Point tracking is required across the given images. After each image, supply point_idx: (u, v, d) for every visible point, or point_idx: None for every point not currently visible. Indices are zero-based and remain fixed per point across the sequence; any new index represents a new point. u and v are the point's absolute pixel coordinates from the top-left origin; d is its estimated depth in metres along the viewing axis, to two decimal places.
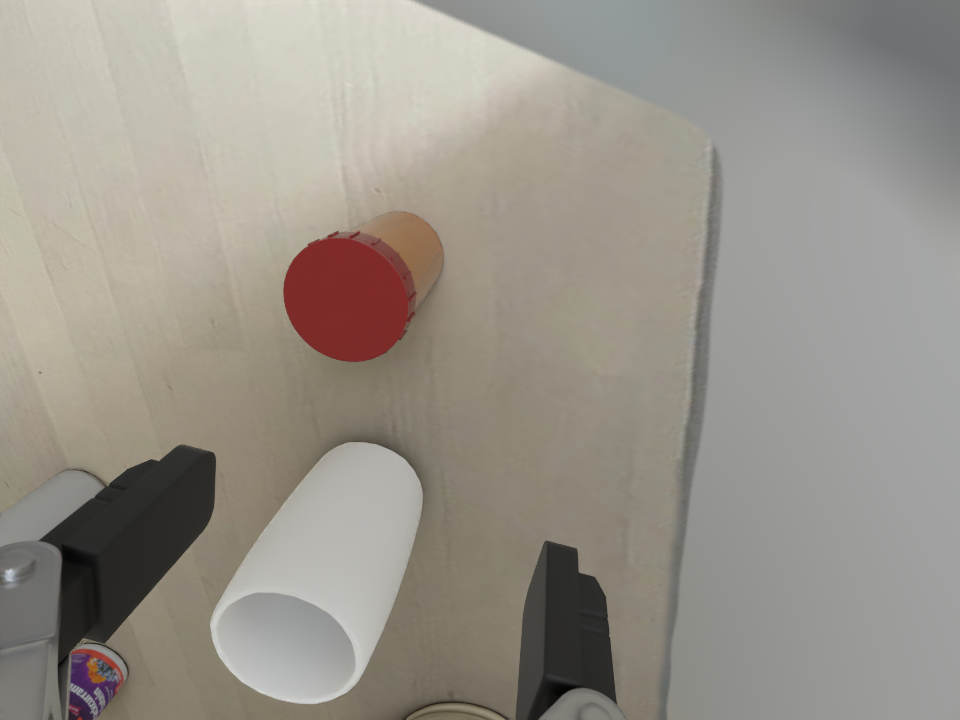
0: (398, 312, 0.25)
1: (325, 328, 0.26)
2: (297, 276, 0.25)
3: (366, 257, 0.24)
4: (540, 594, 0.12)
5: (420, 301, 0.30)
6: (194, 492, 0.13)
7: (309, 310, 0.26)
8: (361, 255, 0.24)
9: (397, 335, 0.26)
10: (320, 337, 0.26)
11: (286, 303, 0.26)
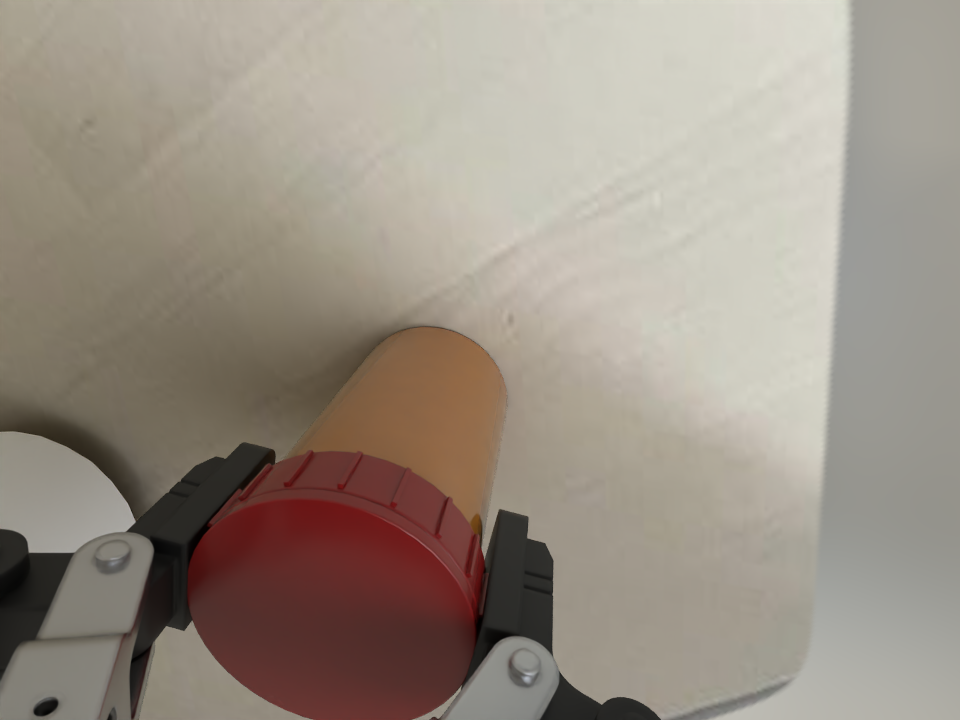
0: (381, 712, 0.12)
1: (245, 605, 0.11)
2: (310, 522, 0.10)
3: (449, 634, 0.11)
4: (490, 557, 0.12)
5: None
6: None
7: (256, 566, 0.11)
8: (446, 625, 0.10)
9: None
10: (219, 602, 0.11)
11: (233, 517, 0.10)
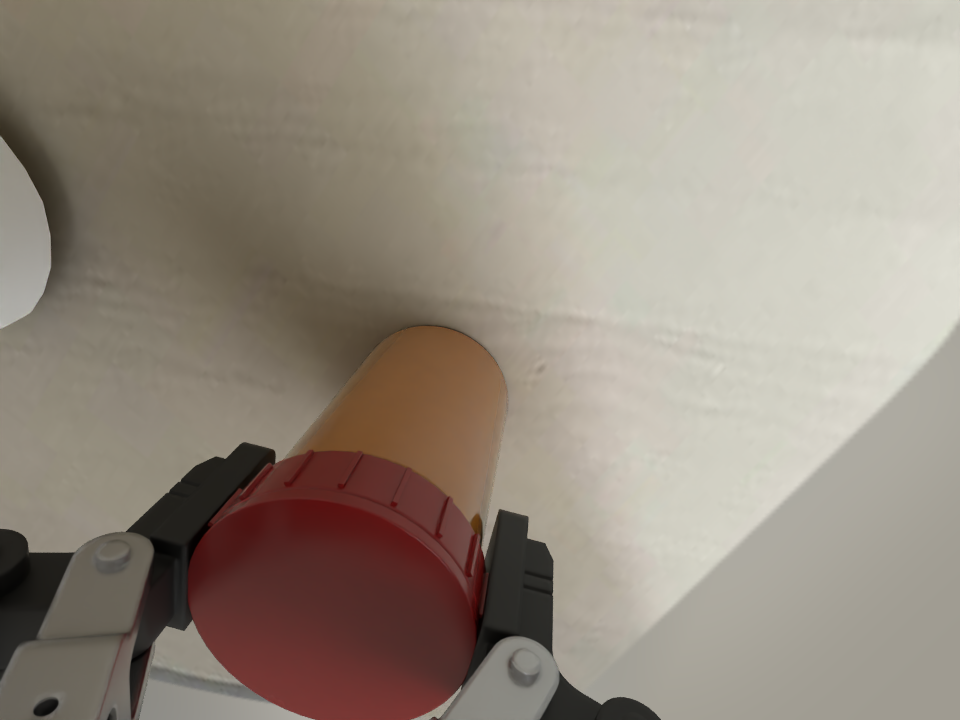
0: (381, 711, 0.12)
1: (246, 605, 0.11)
2: (310, 522, 0.10)
3: (449, 634, 0.11)
4: (490, 557, 0.12)
5: None
6: None
7: (257, 565, 0.11)
8: (447, 625, 0.10)
9: None
10: (219, 601, 0.11)
11: (233, 516, 0.10)
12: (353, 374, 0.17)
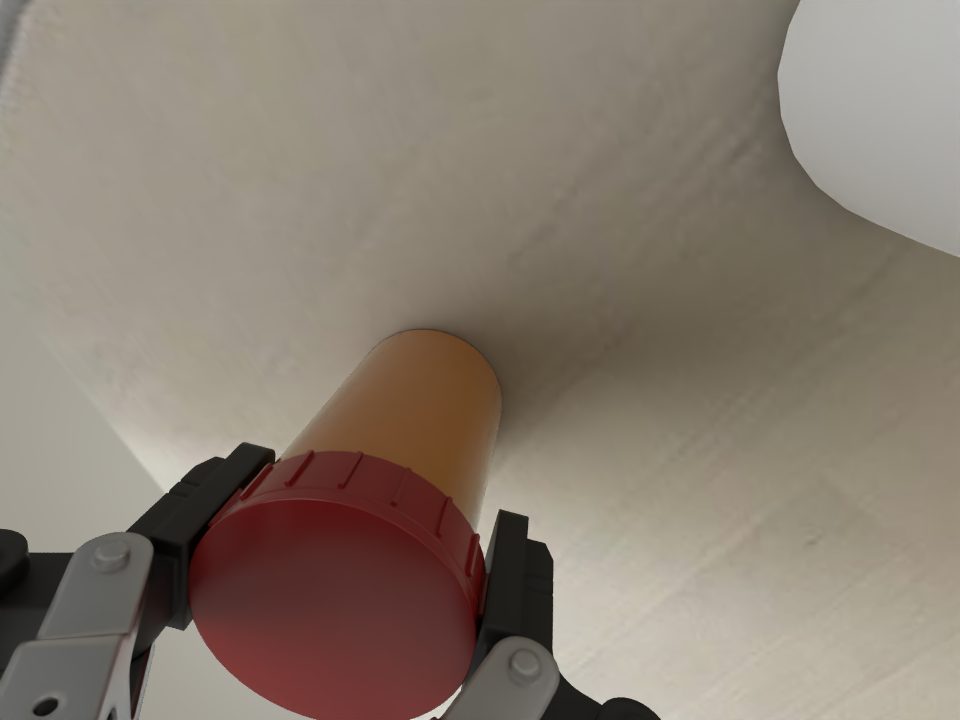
0: (382, 711, 0.12)
1: (246, 605, 0.11)
2: (310, 522, 0.10)
3: (449, 634, 0.11)
4: (490, 557, 0.12)
5: (338, 399, 0.15)
6: None
7: (257, 565, 0.11)
8: (447, 624, 0.10)
9: (337, 719, 0.12)
10: (220, 601, 0.11)
11: (234, 516, 0.10)
12: (491, 419, 0.17)
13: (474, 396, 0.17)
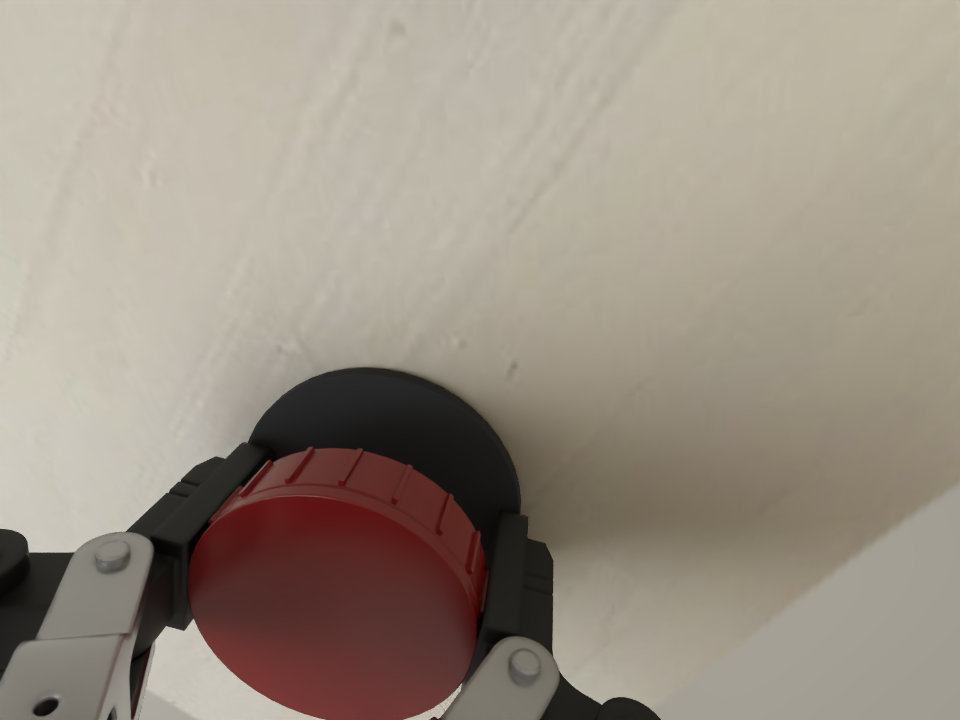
0: (382, 709, 0.12)
1: (246, 602, 0.11)
2: (311, 519, 0.10)
3: (450, 631, 0.11)
4: (490, 557, 0.12)
5: None
6: None
7: (257, 562, 0.11)
8: (447, 622, 0.10)
9: (337, 717, 0.12)
10: (220, 598, 0.11)
11: (234, 513, 0.10)
12: None
13: None
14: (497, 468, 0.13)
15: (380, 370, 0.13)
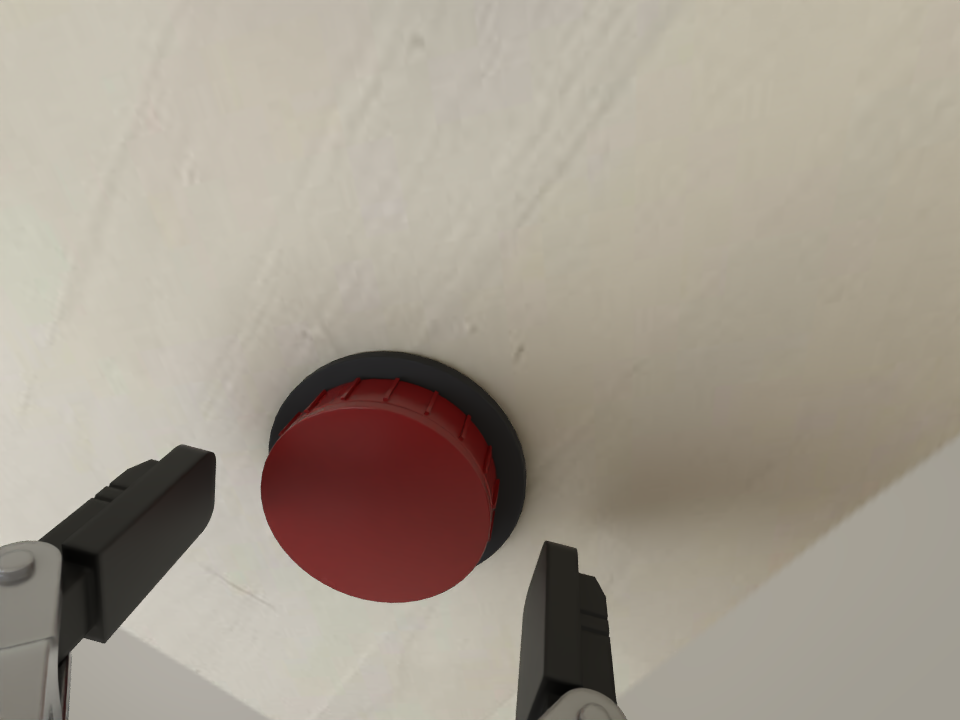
0: (413, 588, 0.15)
1: (308, 498, 0.14)
2: (362, 426, 0.13)
3: (469, 518, 0.14)
4: (540, 594, 0.12)
5: None
6: (194, 492, 0.13)
7: (318, 464, 0.13)
8: (467, 510, 0.13)
9: (377, 598, 0.15)
10: (287, 496, 0.14)
11: (302, 424, 0.13)
12: None
13: None
14: (504, 444, 0.14)
15: (397, 353, 0.14)
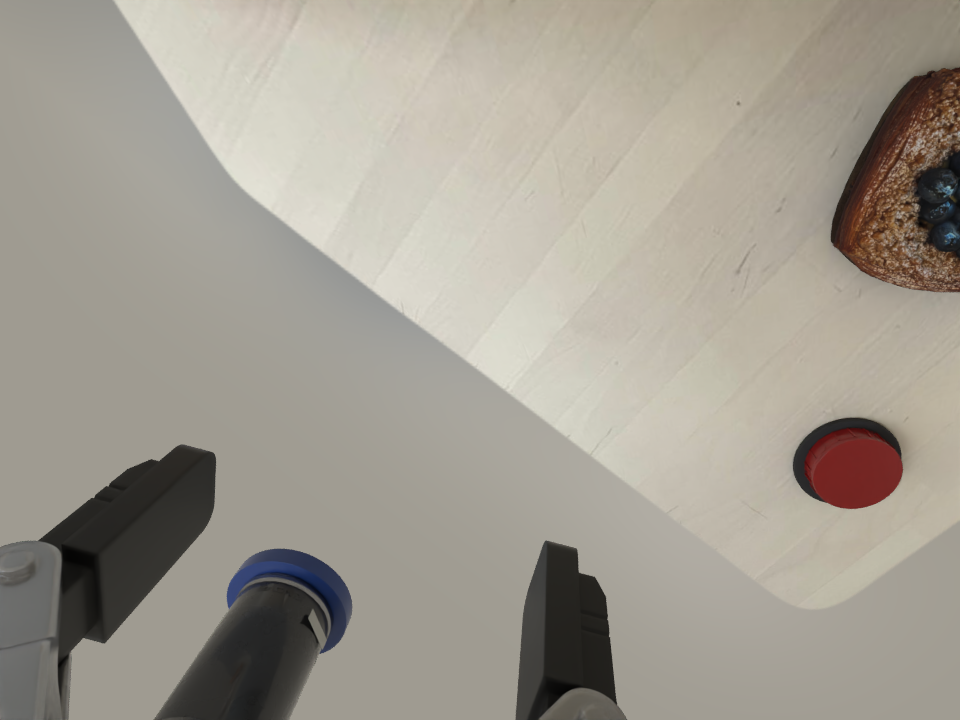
0: (863, 503, 0.40)
1: (833, 470, 0.40)
2: (864, 445, 0.39)
3: (893, 476, 0.39)
4: (540, 594, 0.12)
5: None
6: (193, 492, 0.13)
7: (842, 458, 0.39)
8: (894, 474, 0.39)
9: (846, 507, 0.41)
10: (825, 469, 0.40)
11: (841, 444, 0.39)
12: None
13: None
14: (896, 451, 0.40)
15: (861, 419, 0.40)
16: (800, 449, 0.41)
